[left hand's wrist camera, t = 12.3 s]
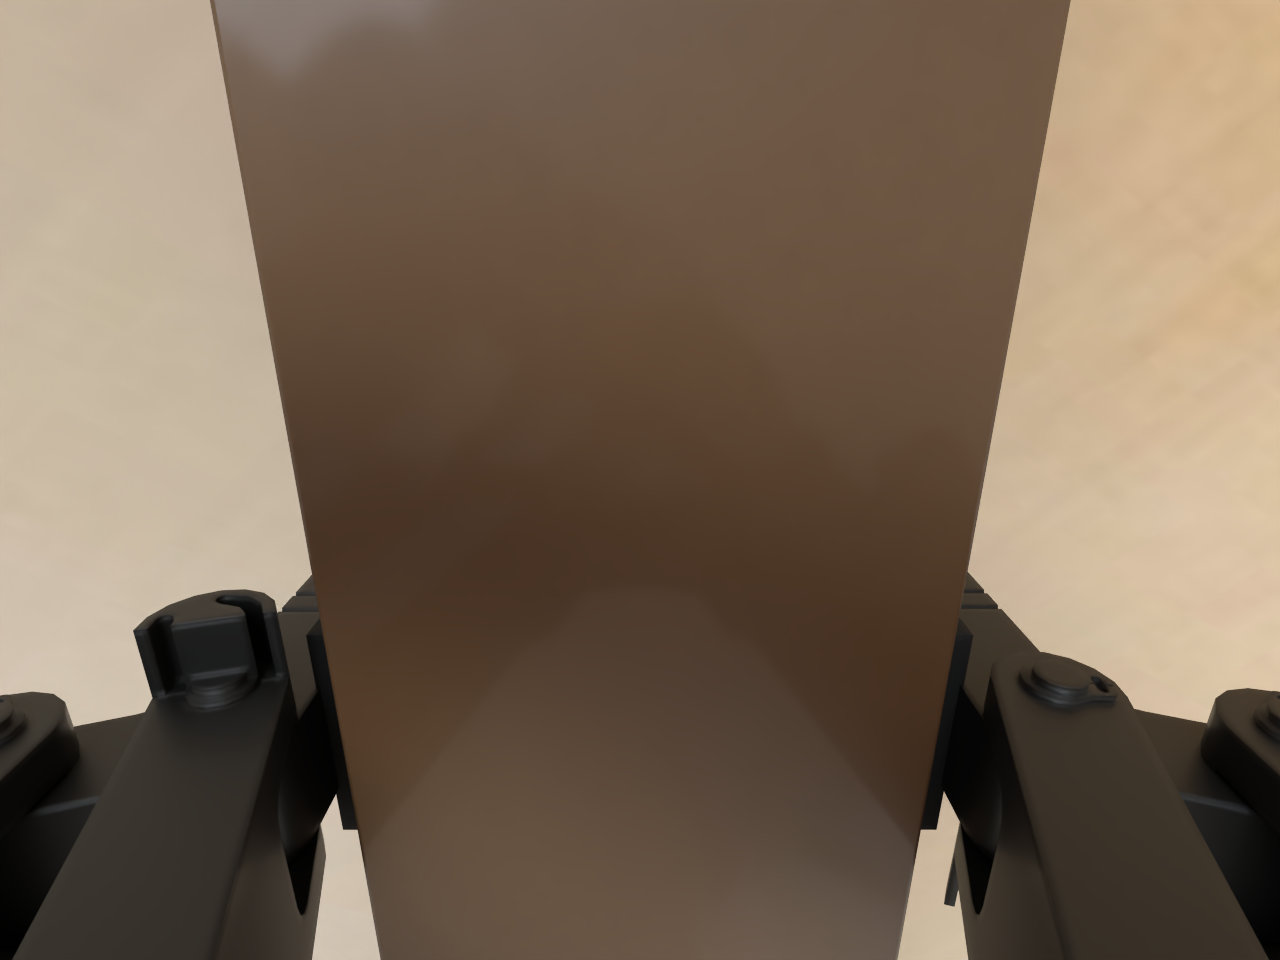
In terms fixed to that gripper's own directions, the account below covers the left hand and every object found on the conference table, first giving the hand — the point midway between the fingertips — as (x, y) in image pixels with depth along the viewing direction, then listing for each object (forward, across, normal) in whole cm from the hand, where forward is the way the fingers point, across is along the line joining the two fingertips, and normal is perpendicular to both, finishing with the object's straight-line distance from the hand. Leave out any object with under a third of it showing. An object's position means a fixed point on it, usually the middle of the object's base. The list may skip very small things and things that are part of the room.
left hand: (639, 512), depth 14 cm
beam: (+1, 0, -26) cm, 26 cm away
